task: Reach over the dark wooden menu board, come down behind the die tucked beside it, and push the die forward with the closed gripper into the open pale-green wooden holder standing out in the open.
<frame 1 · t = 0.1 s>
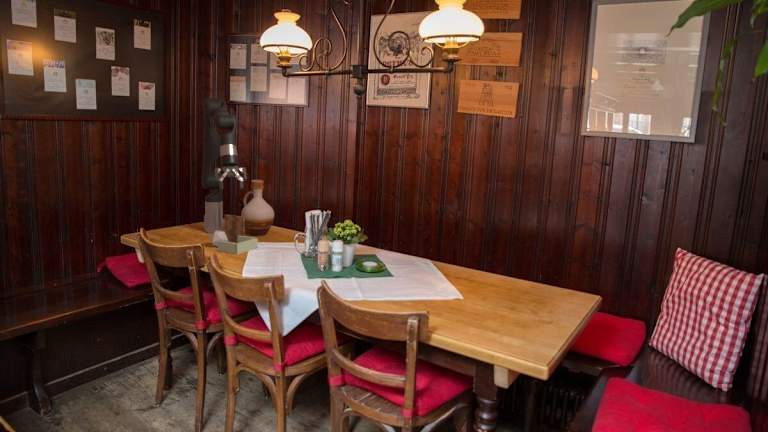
hand: (231, 189, 264), 31 cm above the table, tool tilted 20°, fingers open, 8 cm apart
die: (218, 246, 287), on the table
jug: (256, 234, 317), on the table
menu board: (234, 242, 296), on the table
holder: (237, 249, 282), on the table
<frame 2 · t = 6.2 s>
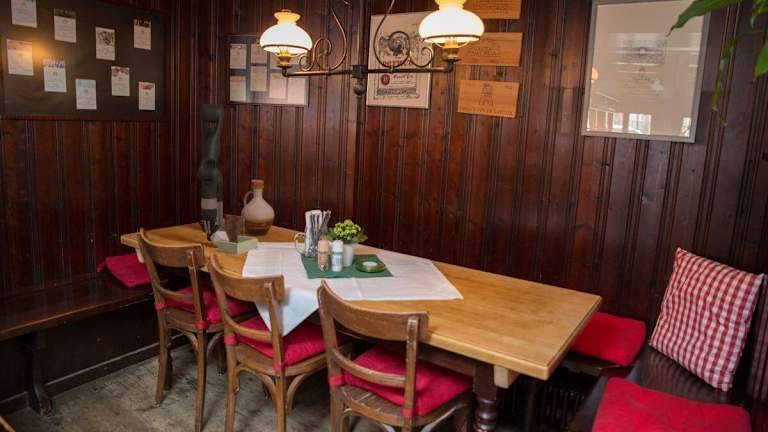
hand: (210, 240, 289), 2 cm above the table, tool pointing down, fingers closed
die: (219, 246, 287), on the table, touching gripper, hand
everything else where it was.
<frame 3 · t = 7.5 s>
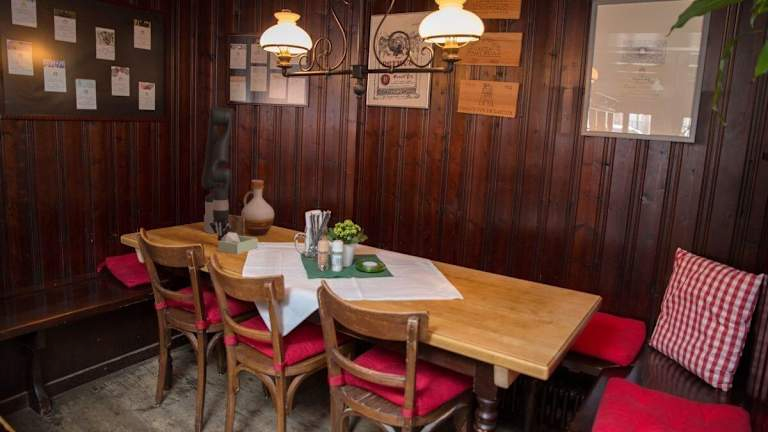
hand: (221, 242, 286), 2 cm above the table, tool pointing down, fingers closed
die: (230, 248, 284), on the table, touching gripper, hand
everything else where it was.
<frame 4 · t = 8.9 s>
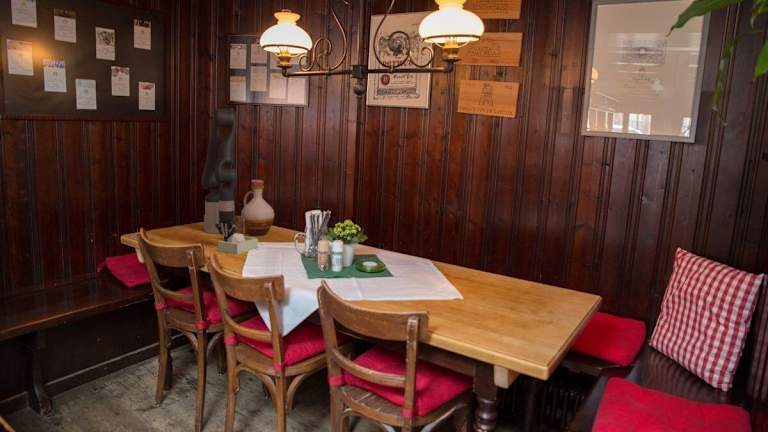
hand: (226, 243, 285), 2 cm above the table, tool pointing down, fingers closed
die: (237, 249, 283), on the table, touching gripper, hand
everything else where it was.
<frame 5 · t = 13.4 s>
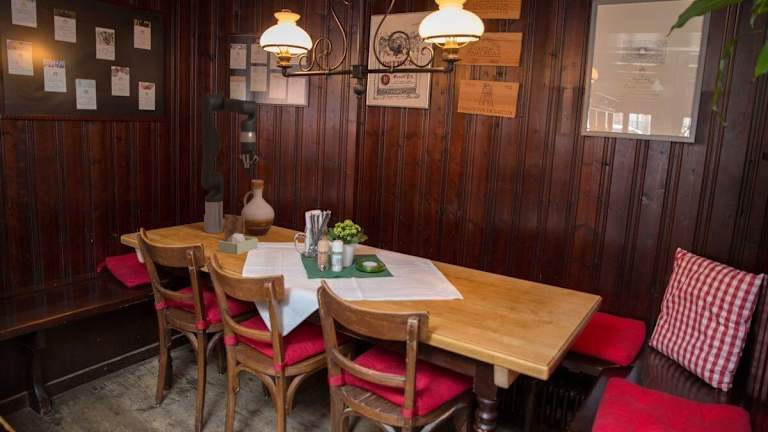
hand: (248, 175, 291), 35 cm above the table, tool pointing down, fingers closed
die: (237, 249, 283), on the table
everything else where it was.
at the end: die inside the target area on the holder (0.8 cm from its centre), point 0.0 cm above the holder's base; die moved 11.4 cm from its start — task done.
